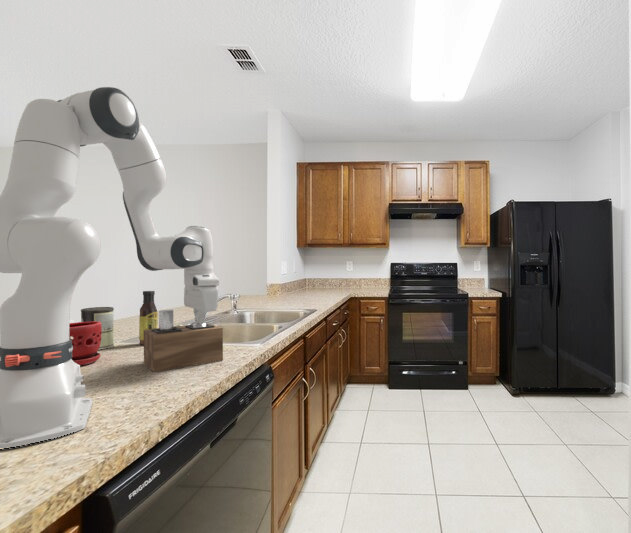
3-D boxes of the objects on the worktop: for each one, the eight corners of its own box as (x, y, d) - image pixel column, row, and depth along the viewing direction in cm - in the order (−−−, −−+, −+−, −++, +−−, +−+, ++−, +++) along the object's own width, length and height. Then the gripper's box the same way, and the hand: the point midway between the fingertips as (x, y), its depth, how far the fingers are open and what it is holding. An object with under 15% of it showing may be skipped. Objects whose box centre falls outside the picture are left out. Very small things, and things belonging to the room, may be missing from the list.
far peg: (208, 355, 118) (208, 323, 118) (195, 357, 115) (195, 325, 115) (203, 353, 121) (203, 322, 121) (191, 355, 118) (191, 323, 118)
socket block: (222, 360, 116) (222, 326, 116) (154, 372, 104) (153, 334, 104) (208, 353, 126) (208, 321, 126) (143, 363, 114) (143, 328, 114)
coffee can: (77, 351, 130) (76, 310, 130) (85, 345, 140) (85, 307, 140) (110, 349, 133) (110, 309, 133) (116, 343, 143) (116, 306, 143)
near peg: (175, 344, 112) (175, 310, 112) (161, 346, 109) (160, 311, 109) (171, 341, 115) (171, 309, 115) (157, 343, 112) (157, 310, 112)
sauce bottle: (150, 345, 138) (150, 291, 138) (135, 345, 139) (134, 291, 139) (161, 342, 144) (160, 290, 144) (146, 341, 146) (146, 290, 146)
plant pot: (105, 356, 123) (105, 319, 123) (97, 366, 111) (96, 325, 111) (58, 360, 119) (57, 321, 119) (44, 371, 106) (44, 328, 106)
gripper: (178, 278, 124) (179, 320, 125) (200, 280, 108) (201, 328, 108) (197, 277, 128) (198, 318, 128) (221, 279, 112) (222, 326, 112)
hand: (199, 323), depth 118 cm, fingers closed, pressing on far peg
